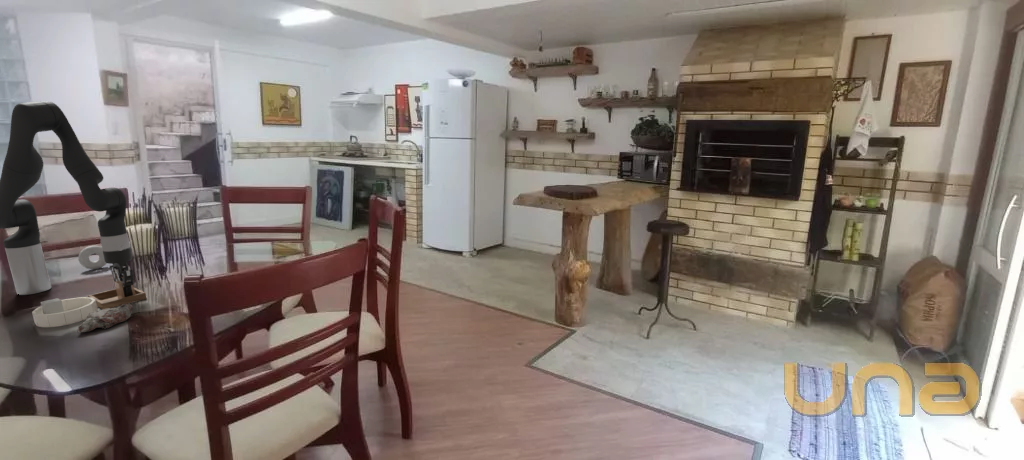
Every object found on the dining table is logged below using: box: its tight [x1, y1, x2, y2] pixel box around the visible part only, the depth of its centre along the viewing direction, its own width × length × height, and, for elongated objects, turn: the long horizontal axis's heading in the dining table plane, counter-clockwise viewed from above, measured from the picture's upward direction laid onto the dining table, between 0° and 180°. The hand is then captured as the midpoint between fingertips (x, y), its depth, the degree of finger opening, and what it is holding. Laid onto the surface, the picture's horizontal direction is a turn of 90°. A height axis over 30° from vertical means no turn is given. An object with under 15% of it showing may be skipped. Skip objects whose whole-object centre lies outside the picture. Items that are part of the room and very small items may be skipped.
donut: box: [78, 245, 108, 270], centre depth 204 cm, size 10×4×10 cm, turn 140°
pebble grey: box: [40, 297, 64, 314], centre depth 151 cm, size 4×4×6 cm
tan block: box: [114, 280, 136, 299], centre depth 170 cm, size 4×4×6 cm
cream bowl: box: [31, 296, 99, 328], centre depth 154 cm, size 14×14×4 cm
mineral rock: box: [76, 303, 134, 333], centre depth 148 cm, size 15×8×4 cm, turn 145°
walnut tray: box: [87, 286, 147, 310], centre depth 168 cm, size 14×12×2 cm
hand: (126, 295), depth 170 cm, fingers closed on tan block, 4 cm apart
